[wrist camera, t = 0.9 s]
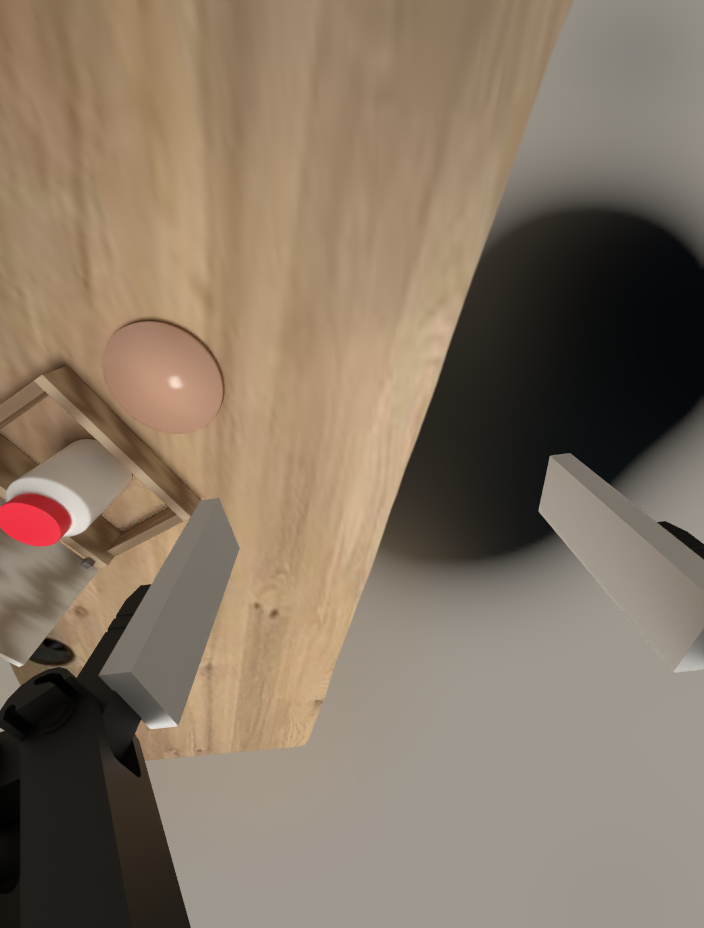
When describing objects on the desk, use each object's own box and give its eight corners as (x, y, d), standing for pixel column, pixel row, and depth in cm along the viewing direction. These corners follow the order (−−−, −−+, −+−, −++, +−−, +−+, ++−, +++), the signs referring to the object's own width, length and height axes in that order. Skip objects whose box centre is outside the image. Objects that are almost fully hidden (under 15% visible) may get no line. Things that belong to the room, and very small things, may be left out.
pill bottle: (49, 457, 40) (-38, 515, 31) (94, 427, 39) (16, 479, 29) (103, 501, 44) (39, 565, 34) (146, 475, 42) (91, 535, 33)
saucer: (81, 358, 35) (76, 360, 34) (168, 296, 32) (164, 297, 31) (166, 447, 40) (163, 450, 40) (246, 400, 38) (244, 402, 37)
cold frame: (-27, 432, 38) (-251, 533, 24) (67, 365, 35) (-127, 435, 20) (116, 544, 48) (19, 666, 33) (201, 500, 44) (134, 614, 30)
